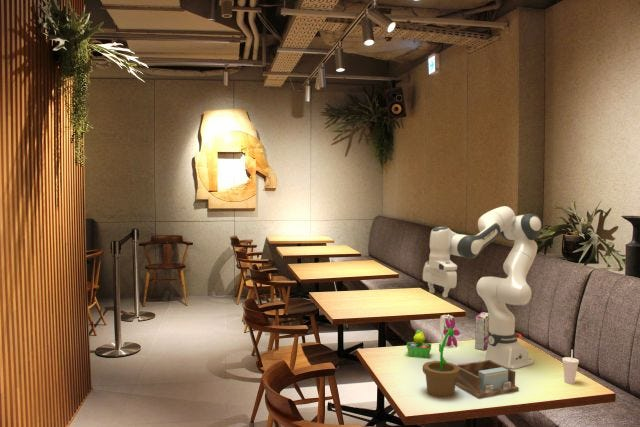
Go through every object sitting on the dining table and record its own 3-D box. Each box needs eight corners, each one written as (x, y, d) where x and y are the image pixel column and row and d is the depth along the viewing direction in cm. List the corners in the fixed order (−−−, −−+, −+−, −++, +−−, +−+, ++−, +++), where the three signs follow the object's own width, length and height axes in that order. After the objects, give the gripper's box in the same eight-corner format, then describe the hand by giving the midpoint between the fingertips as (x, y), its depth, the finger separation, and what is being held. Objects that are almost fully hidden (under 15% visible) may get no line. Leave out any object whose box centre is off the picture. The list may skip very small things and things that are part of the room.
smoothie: (570, 386, 227) (572, 352, 226) (557, 381, 232) (559, 348, 231) (581, 383, 230) (582, 350, 229) (568, 378, 235) (569, 346, 234)
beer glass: (453, 348, 274) (454, 318, 273) (439, 347, 276) (440, 317, 275) (453, 344, 281) (454, 315, 280) (439, 343, 283) (440, 314, 282)
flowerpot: (466, 397, 213) (468, 321, 211) (432, 401, 209) (434, 323, 207) (447, 384, 227) (449, 312, 225) (415, 387, 223) (417, 314, 221)
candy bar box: (480, 343, 284) (481, 311, 283) (490, 345, 281) (491, 313, 280) (474, 349, 274) (475, 316, 273) (484, 350, 272) (485, 317, 270)
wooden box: (489, 376, 236) (490, 359, 236) (518, 391, 221) (519, 372, 220) (451, 383, 228) (451, 365, 228) (478, 398, 213) (479, 379, 212)
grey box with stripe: (483, 391, 216) (484, 374, 215) (477, 388, 219) (478, 370, 218) (507, 387, 220) (508, 370, 220) (501, 384, 224) (502, 367, 223)
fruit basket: (406, 357, 261) (406, 333, 260) (407, 351, 269) (408, 328, 269) (430, 359, 258) (431, 335, 257) (431, 353, 267) (432, 330, 266)
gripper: (419, 260, 251) (418, 290, 252) (447, 267, 232) (446, 300, 233) (431, 259, 254) (430, 289, 255) (459, 266, 235) (458, 298, 236)
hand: (438, 294), depth 244 cm, fingers open, 8 cm apart
